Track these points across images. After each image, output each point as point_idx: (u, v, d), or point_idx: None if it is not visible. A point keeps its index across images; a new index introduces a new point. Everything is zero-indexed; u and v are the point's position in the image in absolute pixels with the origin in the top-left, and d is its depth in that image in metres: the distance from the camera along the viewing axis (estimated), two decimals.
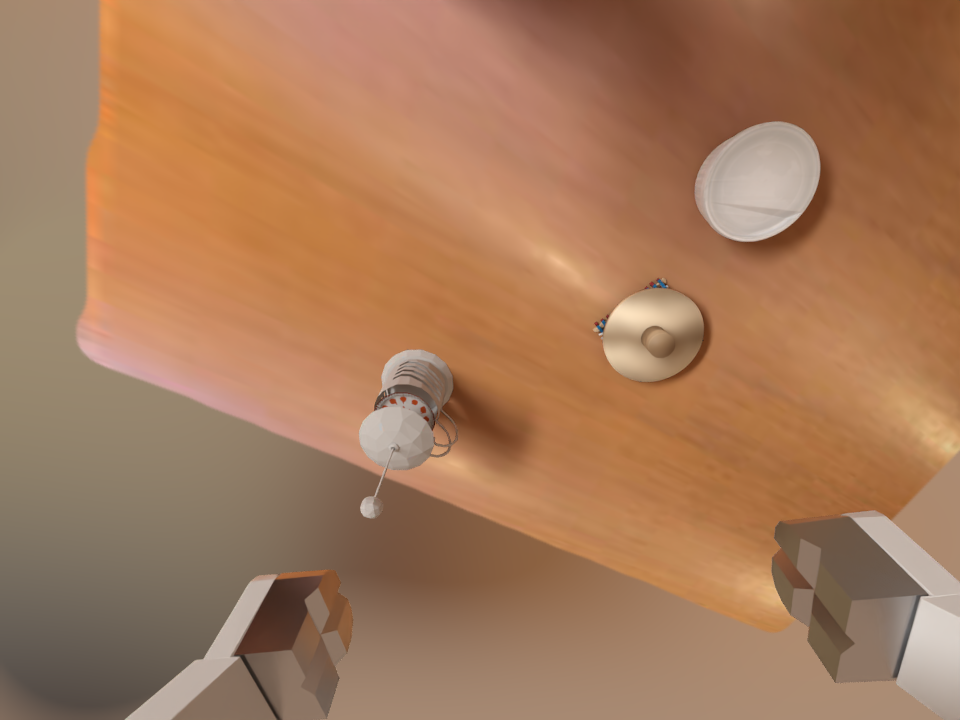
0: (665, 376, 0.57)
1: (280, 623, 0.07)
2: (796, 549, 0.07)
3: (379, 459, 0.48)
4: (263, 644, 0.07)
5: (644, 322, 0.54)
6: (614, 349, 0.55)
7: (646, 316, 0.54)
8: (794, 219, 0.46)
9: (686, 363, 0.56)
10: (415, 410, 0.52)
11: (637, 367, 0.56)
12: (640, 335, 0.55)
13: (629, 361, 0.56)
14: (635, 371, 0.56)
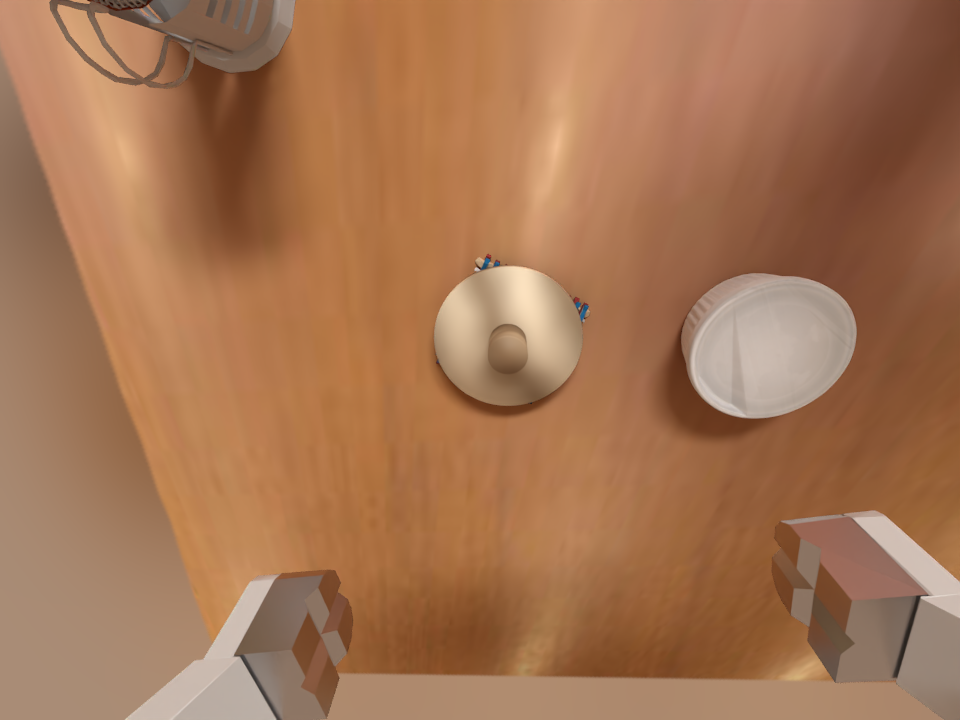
0: (462, 387, 0.38)
1: (280, 623, 0.07)
2: (796, 549, 0.07)
3: None
4: (263, 644, 0.07)
5: (522, 317, 0.35)
6: (465, 299, 0.35)
7: (532, 314, 0.35)
8: (735, 414, 0.35)
9: (493, 401, 0.39)
10: None
11: (454, 345, 0.37)
12: (502, 322, 0.36)
13: (458, 330, 0.36)
14: (448, 346, 0.37)
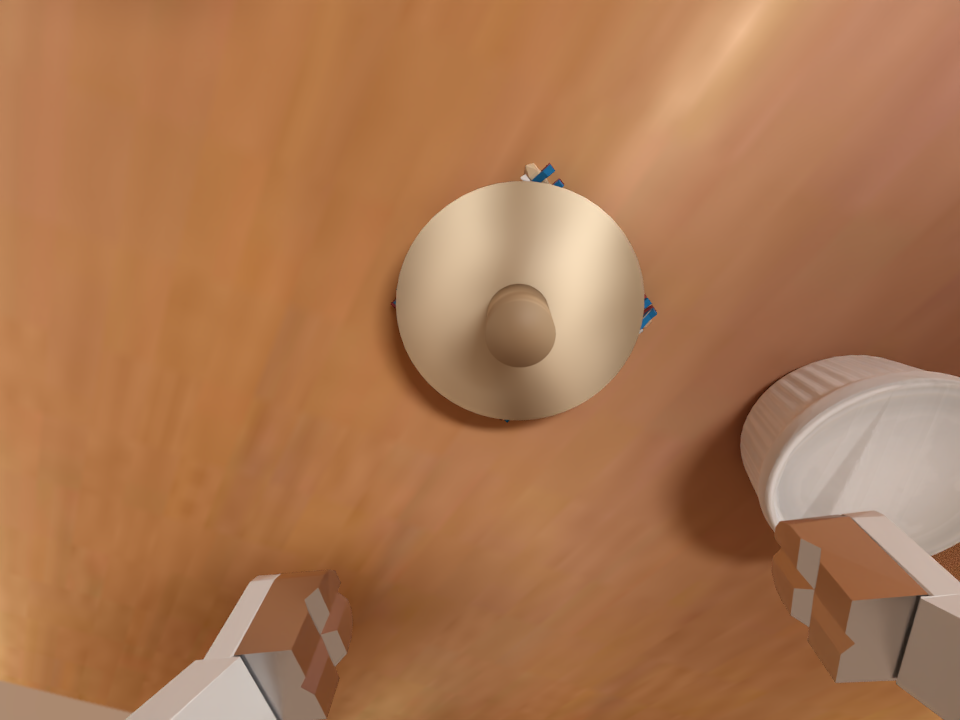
0: (415, 357, 0.23)
1: (280, 623, 0.07)
2: (796, 549, 0.07)
3: None
4: (263, 644, 0.07)
5: (558, 286, 0.21)
6: (483, 217, 0.20)
7: (575, 288, 0.21)
8: None
9: (453, 396, 0.24)
10: None
11: (433, 285, 0.21)
12: (523, 281, 0.21)
13: (449, 263, 0.21)
14: (422, 283, 0.21)
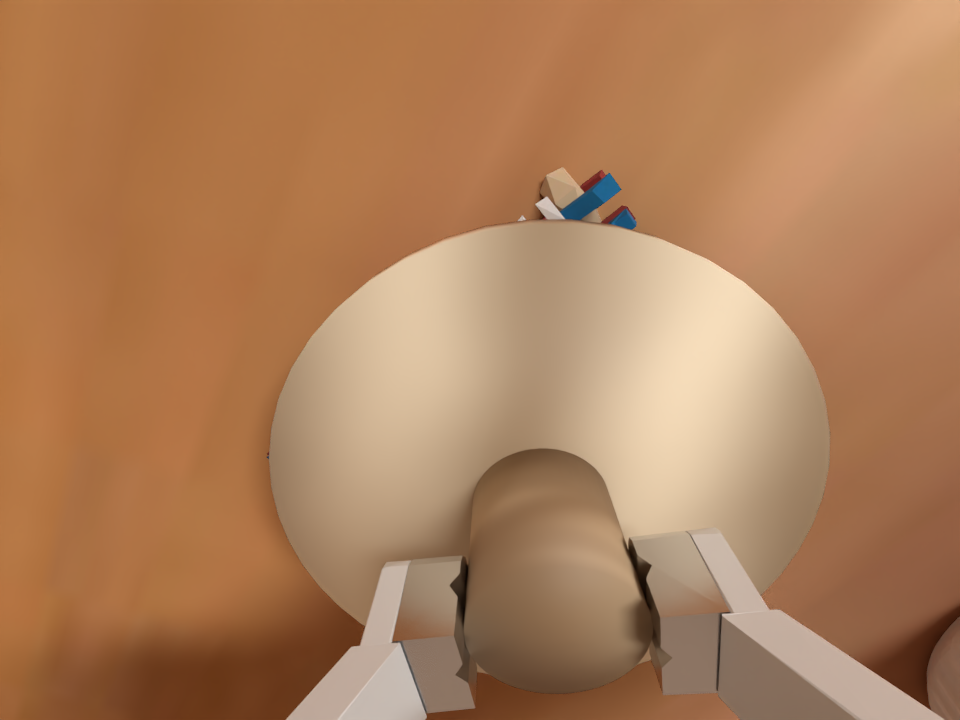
0: (327, 579, 0.11)
1: (432, 609, 0.07)
2: (637, 565, 0.07)
3: None
4: (420, 630, 0.07)
5: (633, 452, 0.09)
6: (455, 309, 0.08)
7: (671, 456, 0.09)
8: None
9: None
10: None
11: (349, 452, 0.10)
12: (553, 443, 0.09)
13: (383, 408, 0.09)
14: (325, 447, 0.10)
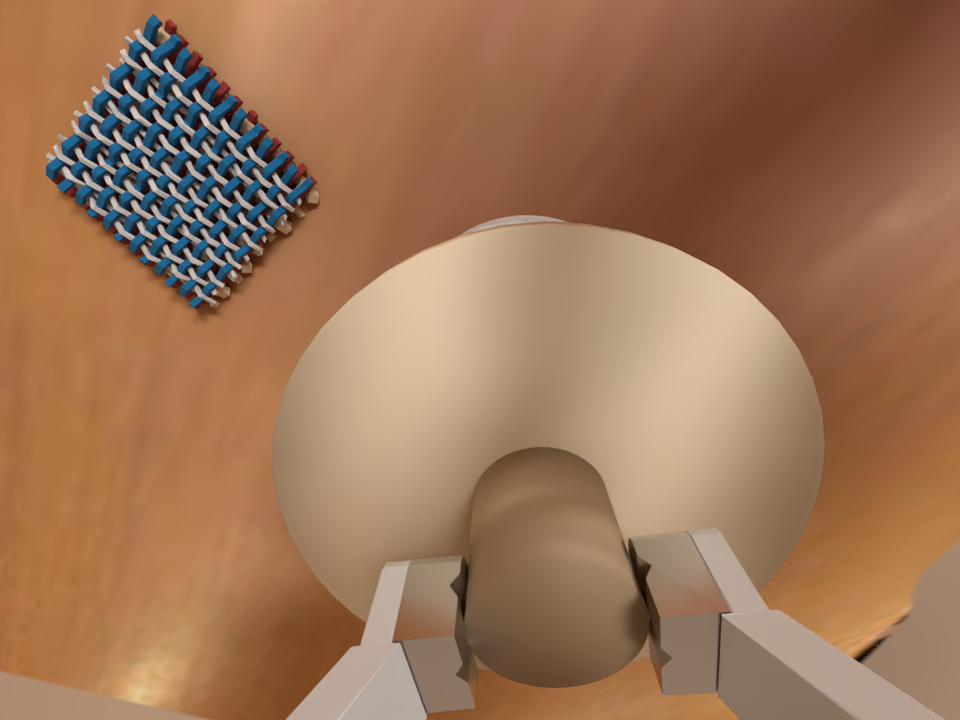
0: (322, 568, 0.11)
1: (432, 609, 0.07)
2: (637, 565, 0.07)
3: None
4: (420, 630, 0.07)
5: (633, 455, 0.09)
6: (468, 306, 0.08)
7: (670, 460, 0.10)
8: None
9: None
10: None
11: (353, 443, 0.10)
12: (556, 442, 0.09)
13: (390, 400, 0.09)
14: (330, 437, 0.10)
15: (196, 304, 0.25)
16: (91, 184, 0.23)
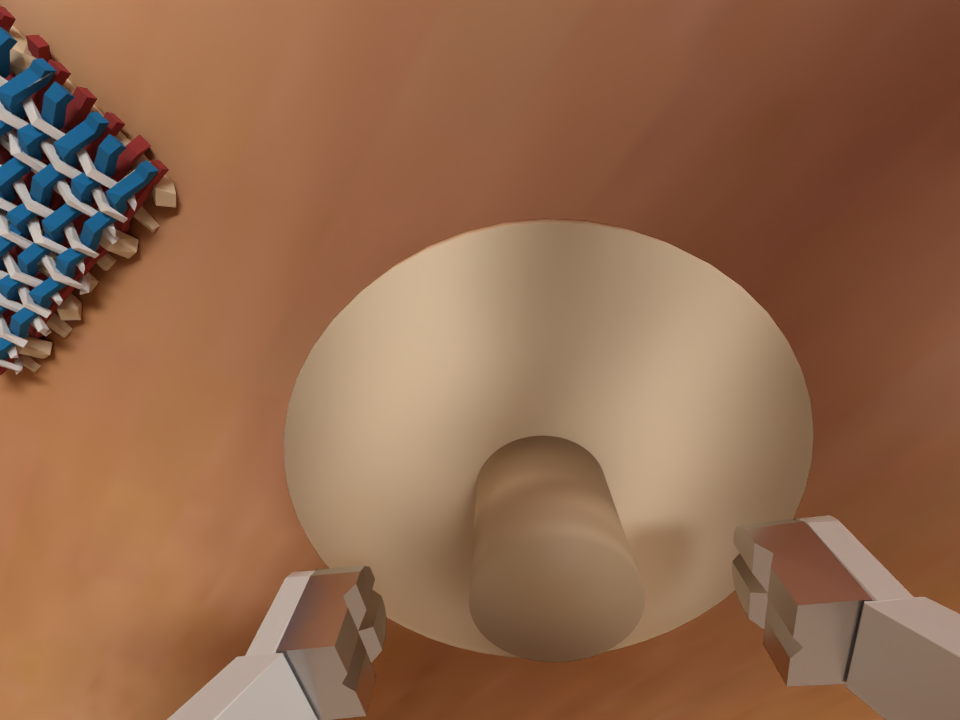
0: (331, 554, 0.12)
1: (320, 619, 0.07)
2: (751, 553, 0.07)
3: None
4: (305, 640, 0.07)
5: (630, 443, 0.10)
6: (472, 299, 0.09)
7: (666, 448, 0.10)
8: None
9: (406, 619, 0.12)
10: None
11: (362, 432, 0.10)
12: (556, 431, 0.10)
13: (397, 390, 0.10)
14: (339, 426, 0.10)
15: None
16: None
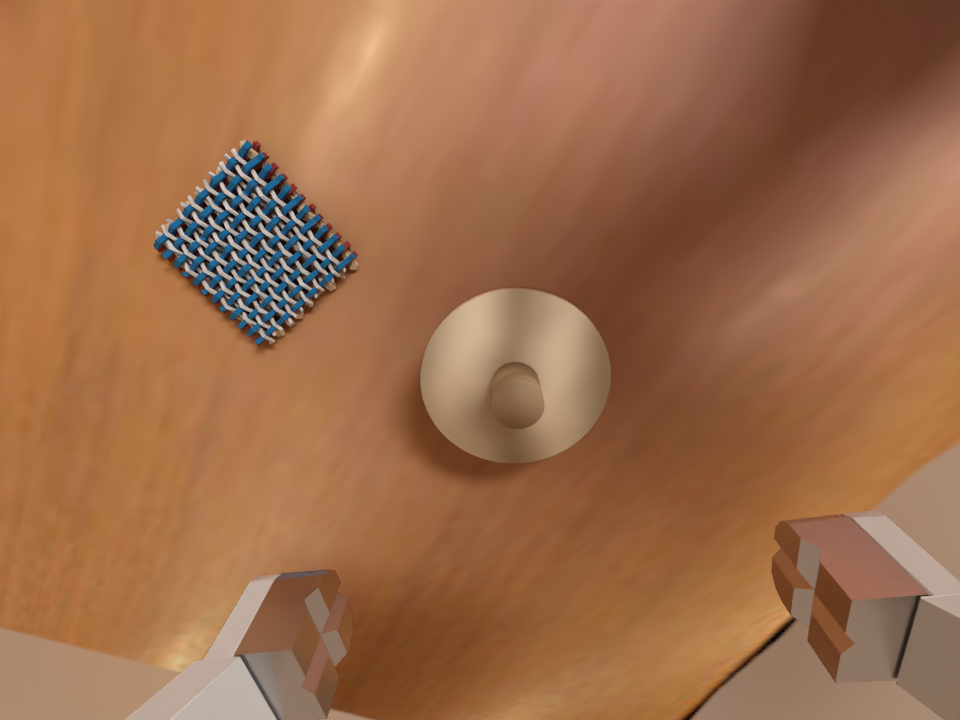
0: (433, 414, 0.29)
1: (280, 623, 0.07)
2: (796, 549, 0.07)
3: None
4: (263, 644, 0.07)
5: (546, 364, 0.28)
6: (490, 314, 0.27)
7: (559, 366, 0.28)
8: None
9: (461, 444, 0.30)
10: None
11: (450, 361, 0.28)
12: (520, 360, 0.28)
13: (463, 346, 0.27)
14: (442, 359, 0.28)
15: (260, 342, 0.32)
16: (188, 254, 0.30)
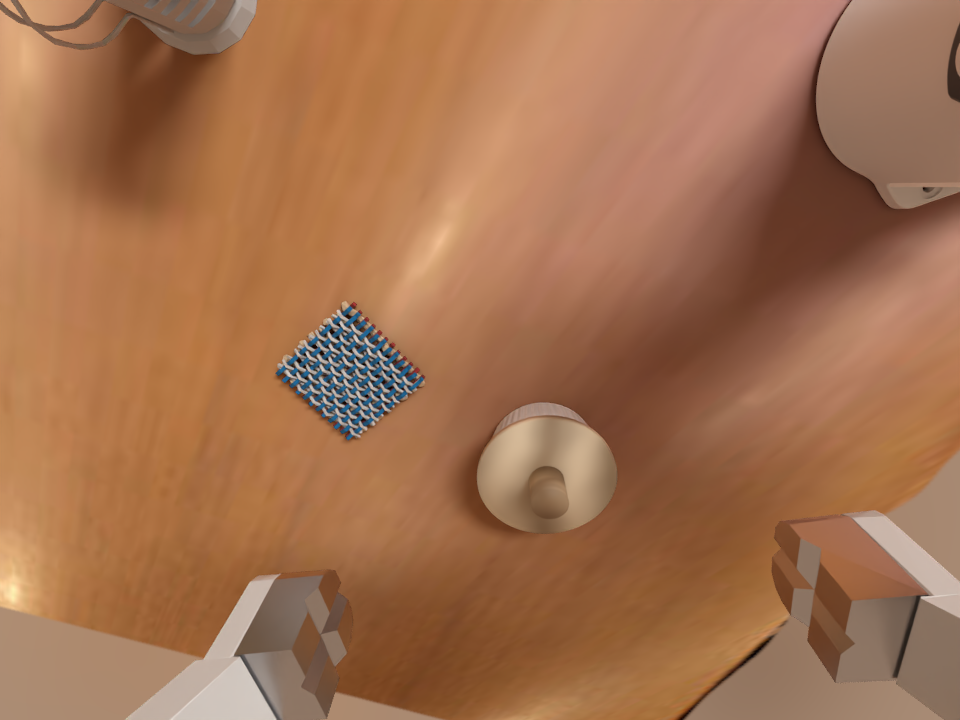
0: (485, 499, 0.40)
1: (280, 623, 0.07)
2: (796, 549, 0.07)
3: None
4: (263, 644, 0.07)
5: (569, 468, 0.38)
6: (530, 435, 0.37)
7: (579, 469, 0.38)
8: None
9: (505, 520, 0.40)
10: None
11: (499, 465, 0.38)
12: (550, 465, 0.38)
13: (509, 455, 0.38)
14: (493, 463, 0.38)
15: None
16: (301, 379, 0.41)
